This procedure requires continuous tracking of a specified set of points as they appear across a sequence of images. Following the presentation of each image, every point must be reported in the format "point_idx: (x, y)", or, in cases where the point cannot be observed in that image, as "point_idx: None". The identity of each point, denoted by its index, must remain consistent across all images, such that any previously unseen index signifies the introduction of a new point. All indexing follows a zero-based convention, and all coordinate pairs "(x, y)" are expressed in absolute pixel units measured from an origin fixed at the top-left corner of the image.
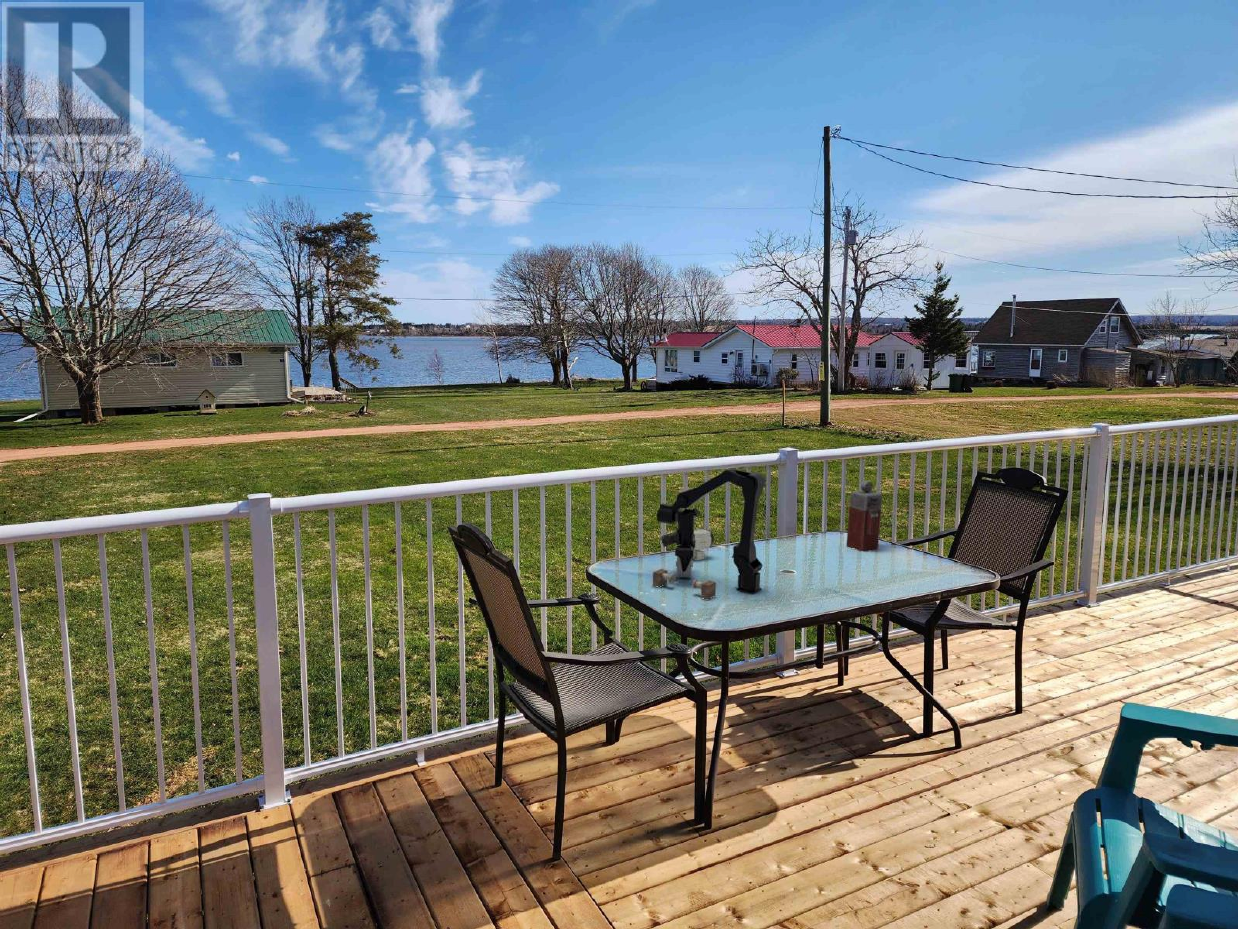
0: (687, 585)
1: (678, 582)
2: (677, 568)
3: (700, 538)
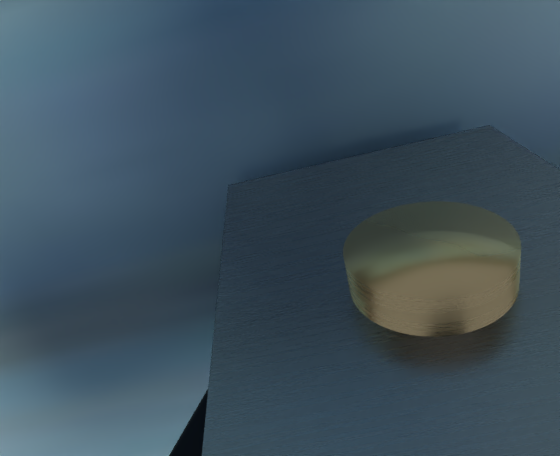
0: (46, 362)
1: (93, 237)
2: (226, 288)
3: None
